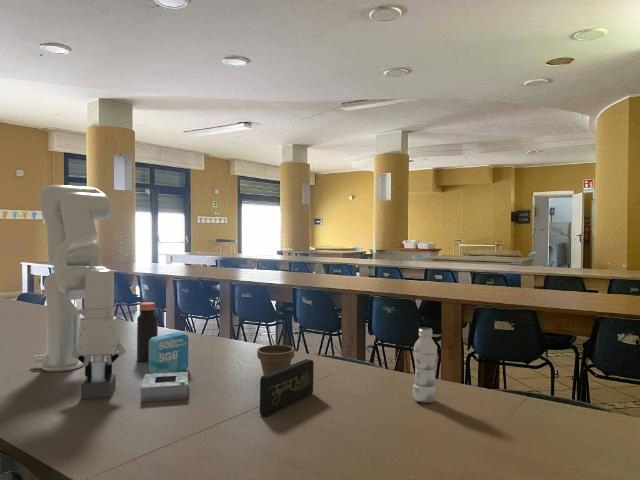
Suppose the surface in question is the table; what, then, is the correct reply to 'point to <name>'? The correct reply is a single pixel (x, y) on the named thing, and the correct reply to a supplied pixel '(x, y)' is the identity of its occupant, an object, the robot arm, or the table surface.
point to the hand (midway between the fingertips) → (98, 377)
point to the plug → (98, 369)
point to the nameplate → (286, 387)
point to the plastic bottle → (424, 367)
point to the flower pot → (275, 357)
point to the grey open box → (98, 388)
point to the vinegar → (146, 330)
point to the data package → (168, 353)
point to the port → (164, 387)
